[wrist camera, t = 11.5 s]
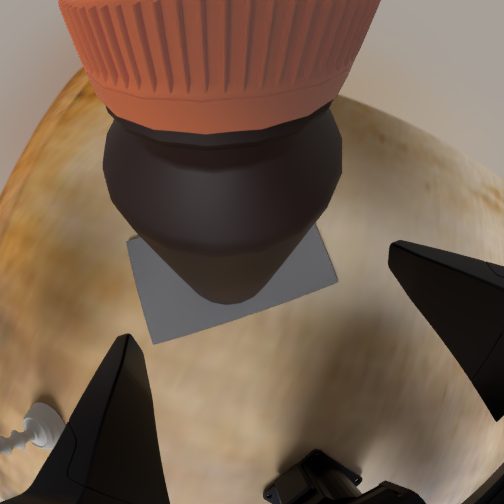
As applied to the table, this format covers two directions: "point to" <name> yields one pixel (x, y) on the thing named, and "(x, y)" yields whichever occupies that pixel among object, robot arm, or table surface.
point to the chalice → (35, 430)
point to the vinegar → (220, 125)
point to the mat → (212, 314)
